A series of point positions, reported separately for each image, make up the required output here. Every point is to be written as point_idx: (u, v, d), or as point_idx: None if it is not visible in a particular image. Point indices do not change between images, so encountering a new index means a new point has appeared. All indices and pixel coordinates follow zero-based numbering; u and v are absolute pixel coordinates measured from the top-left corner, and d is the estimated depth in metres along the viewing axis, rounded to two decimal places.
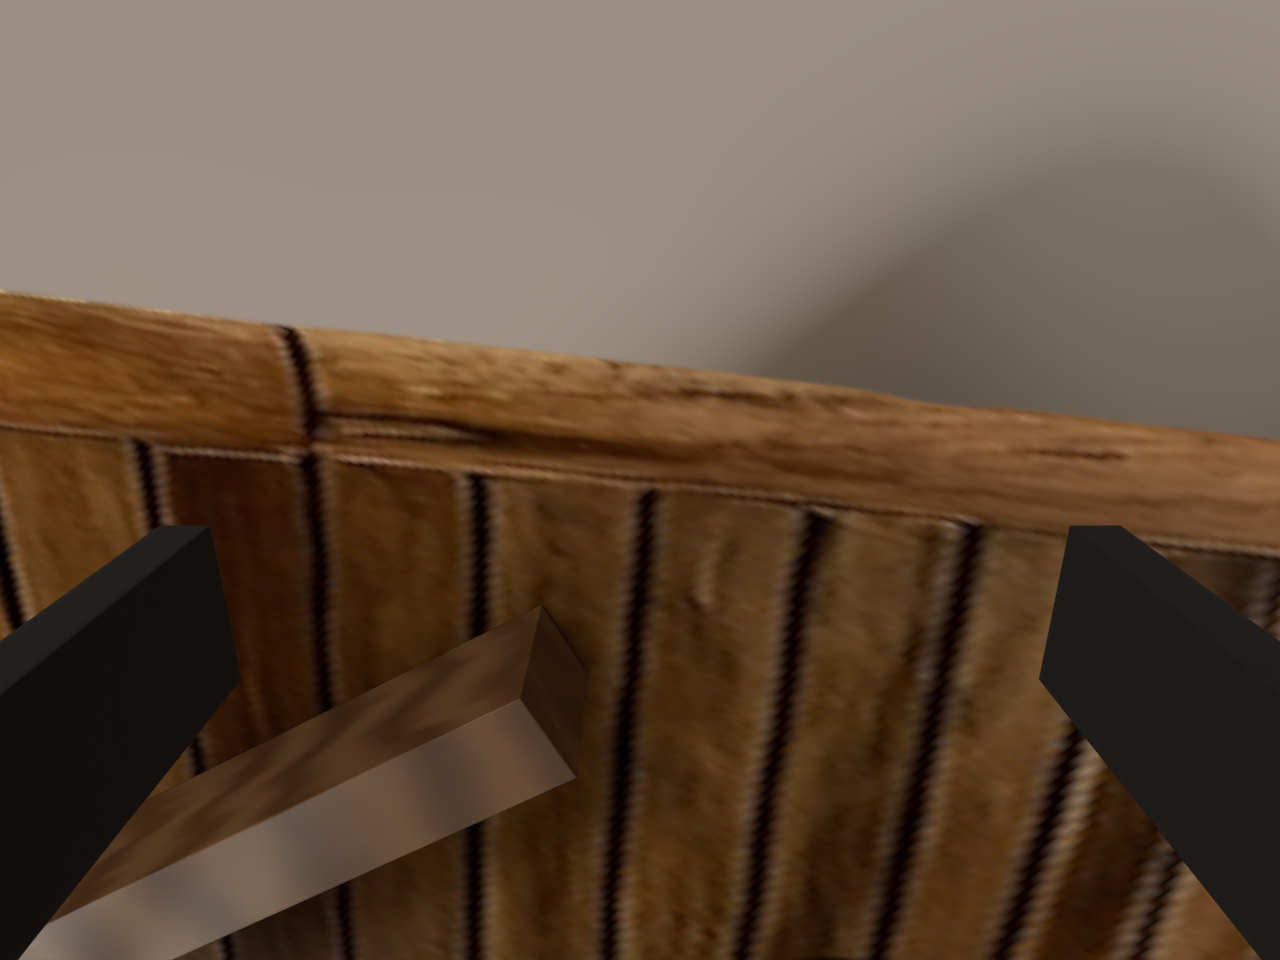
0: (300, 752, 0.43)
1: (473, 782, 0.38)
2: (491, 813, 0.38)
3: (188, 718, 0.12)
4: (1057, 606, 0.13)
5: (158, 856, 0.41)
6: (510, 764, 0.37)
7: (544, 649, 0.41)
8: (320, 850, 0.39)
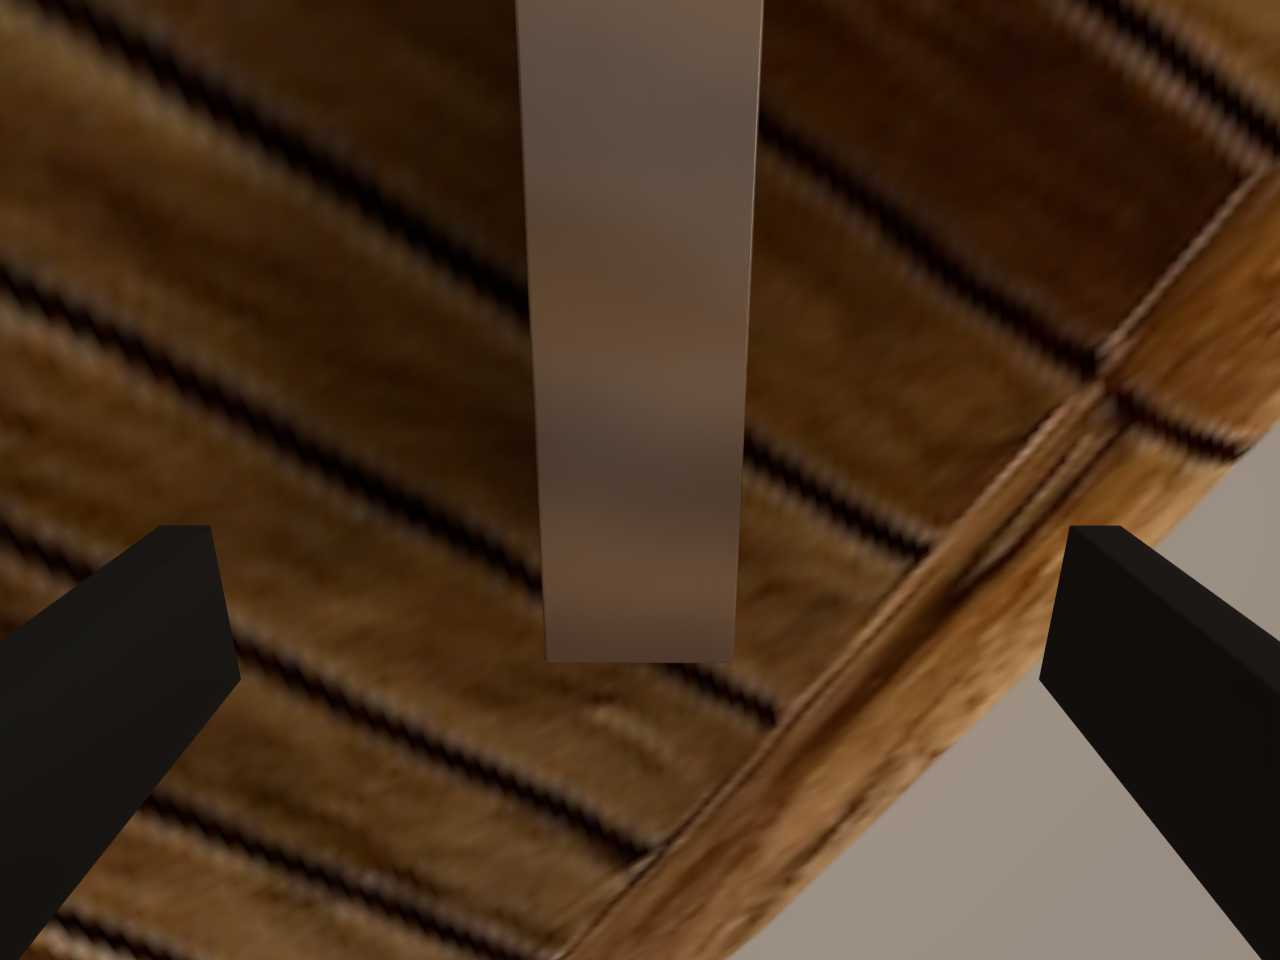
0: None
1: (623, 513, 0.20)
2: (544, 505, 0.20)
3: (188, 717, 0.12)
4: (1057, 606, 0.13)
5: None
6: (625, 587, 0.21)
7: None
8: (626, 134, 0.17)
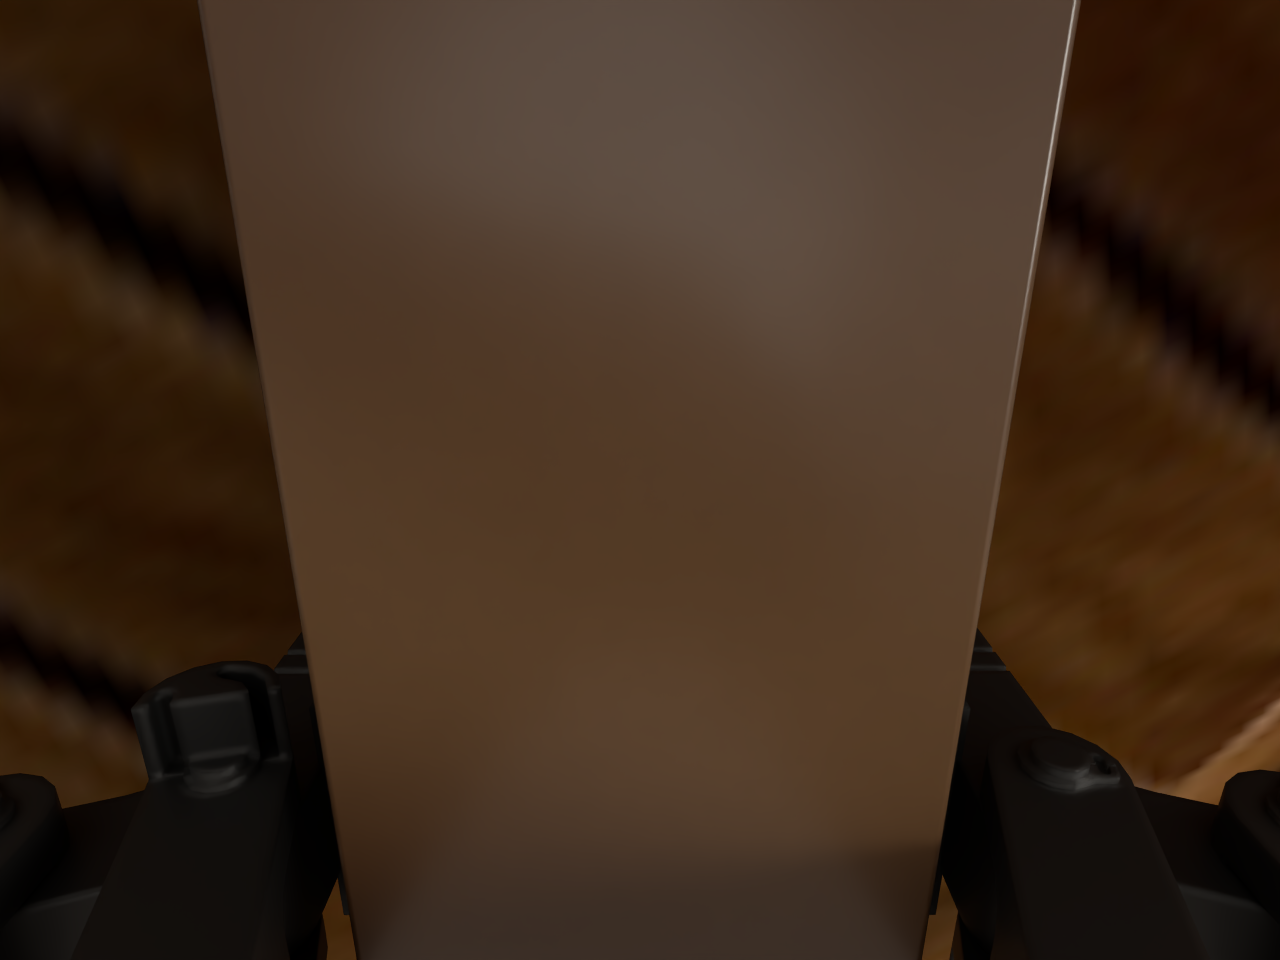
0: None
1: None
2: None
3: None
4: None
5: None
6: None
7: None
8: (590, 18, 0.05)
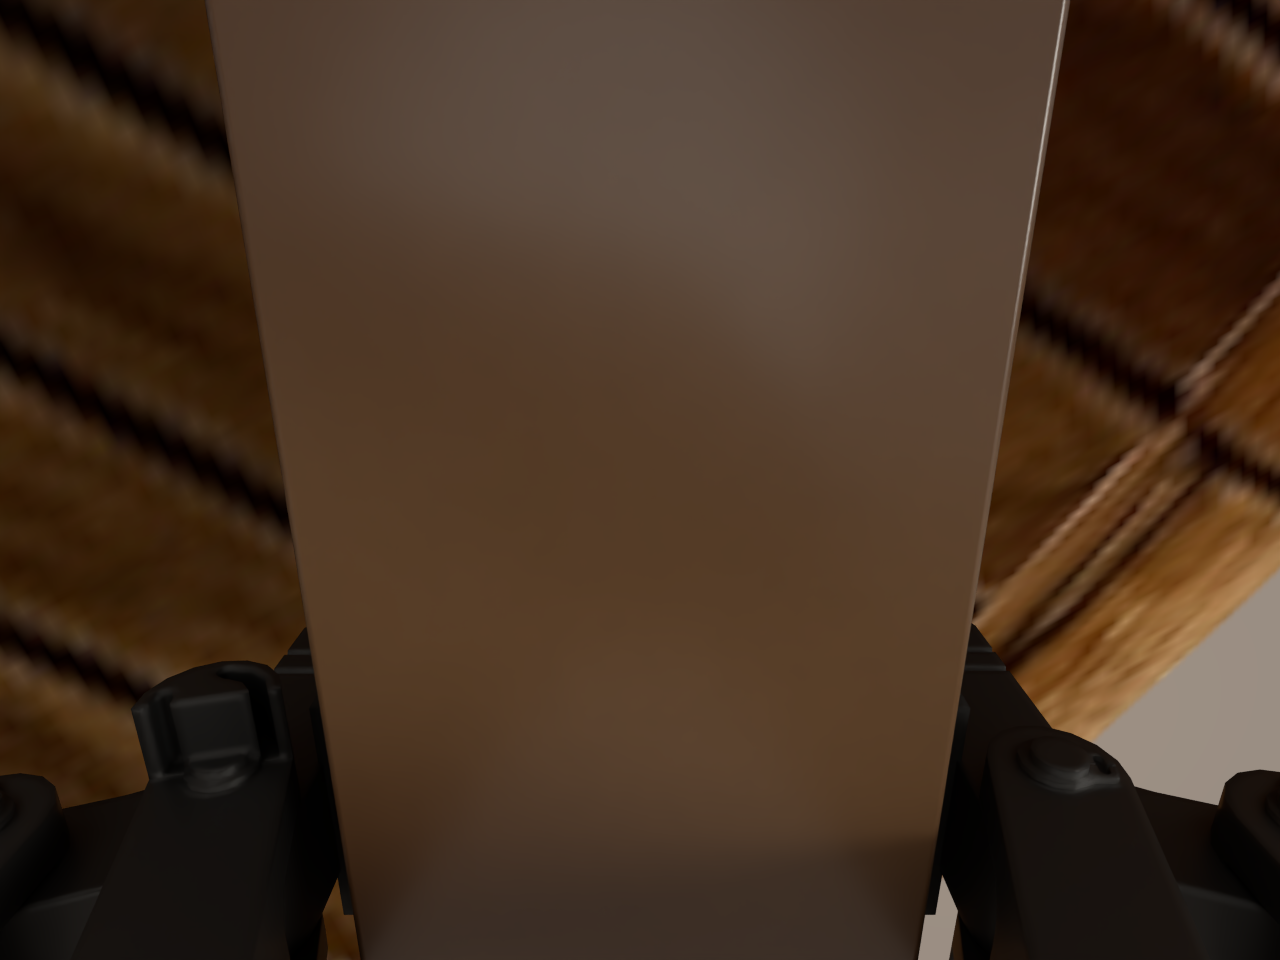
0: None
1: None
2: None
3: None
4: None
5: None
6: None
7: None
8: (589, 18, 0.05)
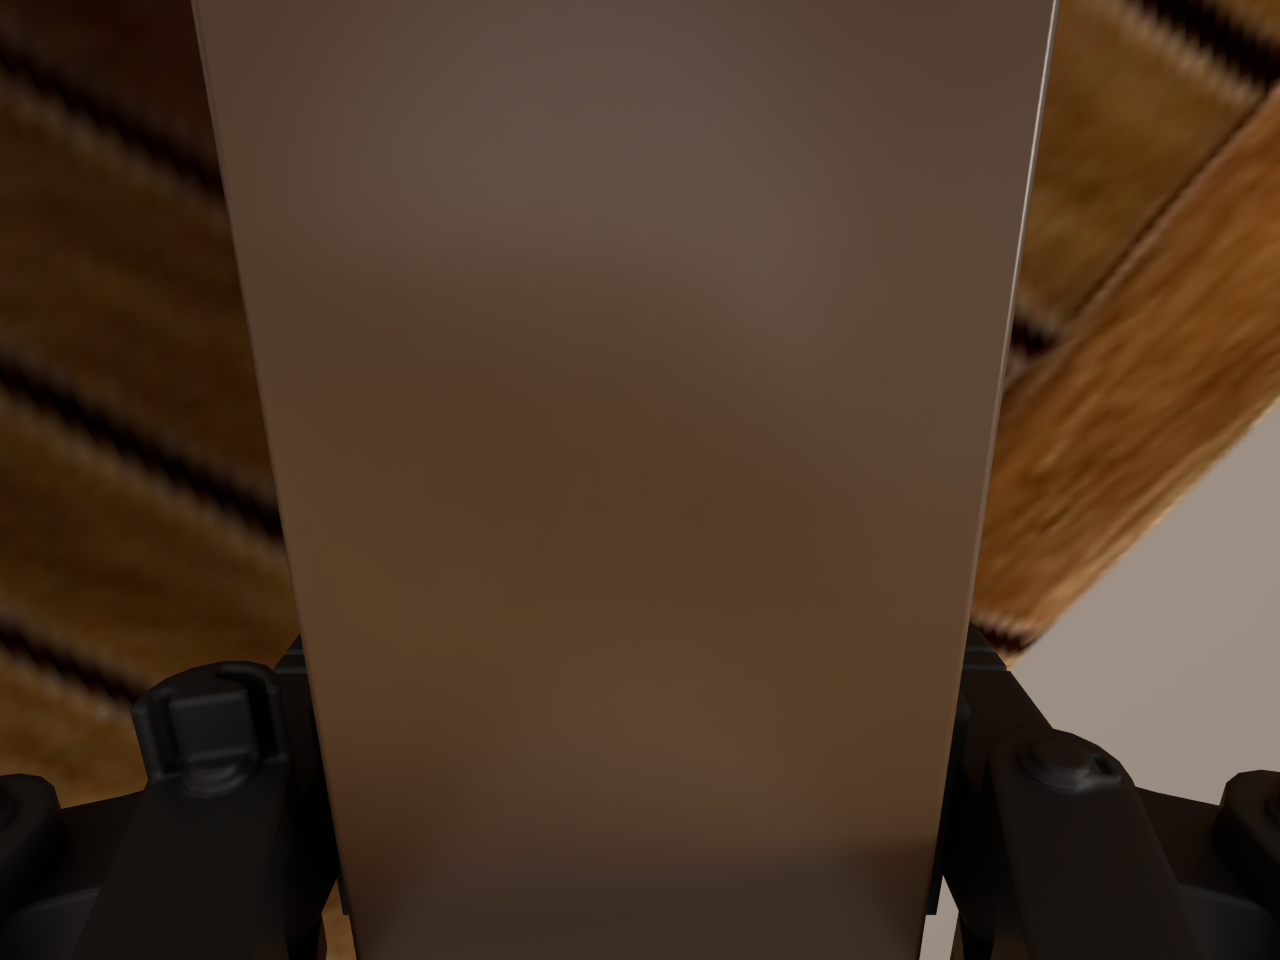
0: None
1: None
2: None
3: None
4: None
5: None
6: None
7: None
8: (578, 15, 0.05)
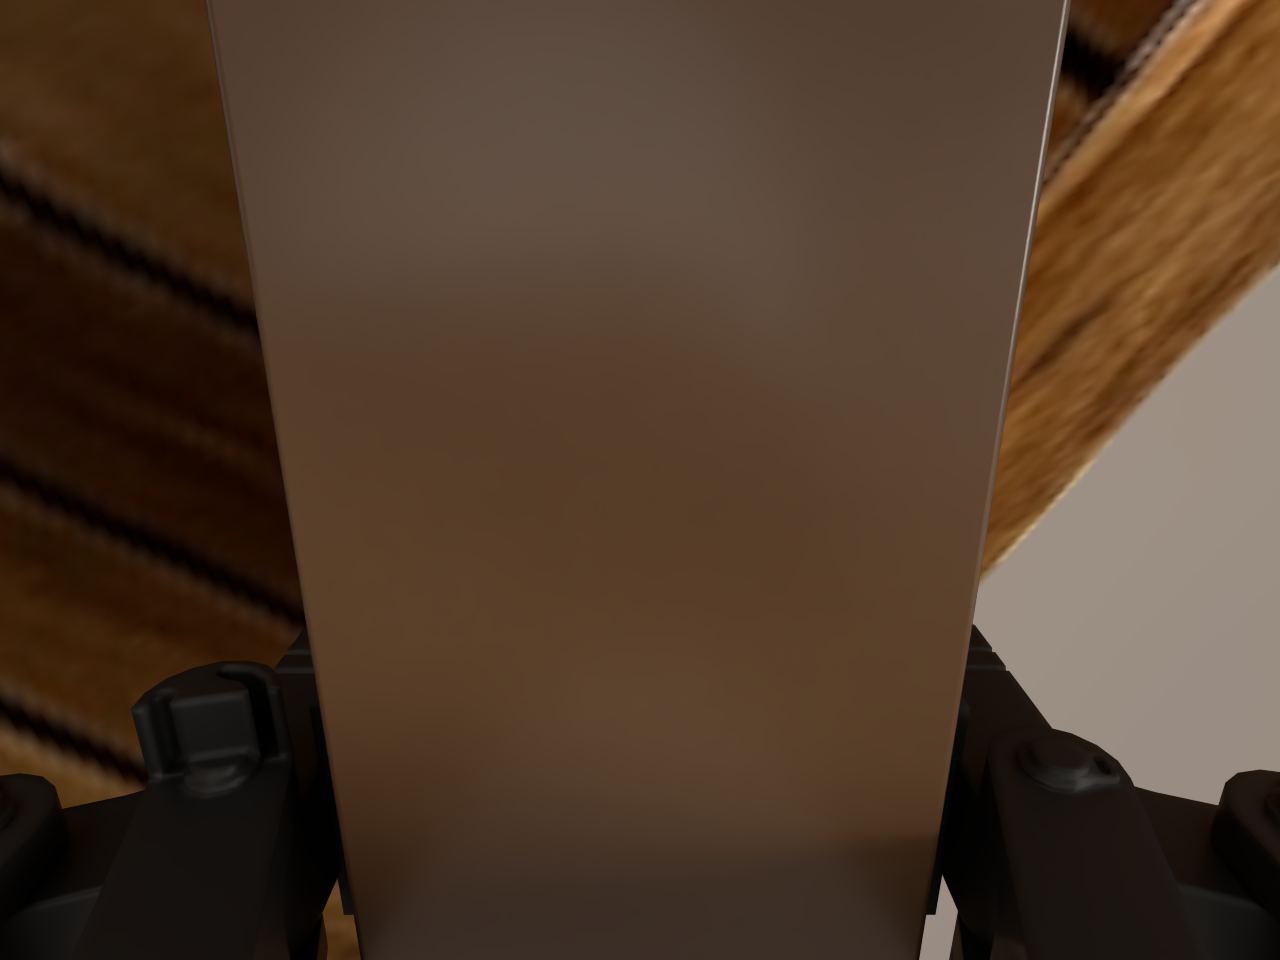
0: None
1: None
2: None
3: None
4: None
5: None
6: None
7: None
8: (591, 23, 0.05)
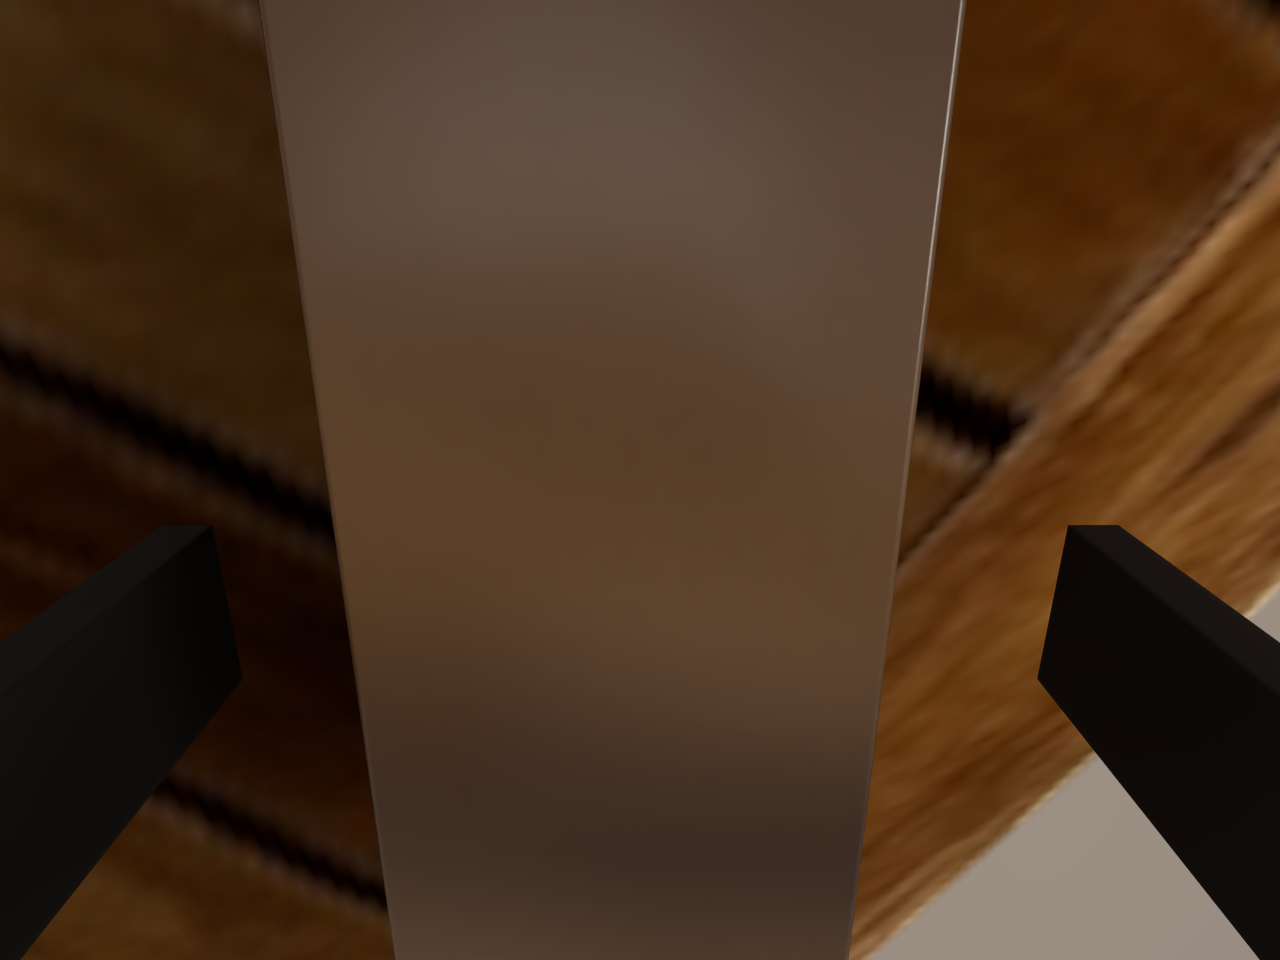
0: None
1: (582, 922, 0.09)
2: (400, 906, 0.09)
3: (189, 716, 0.12)
4: (1054, 605, 0.13)
5: None
6: None
7: None
8: None
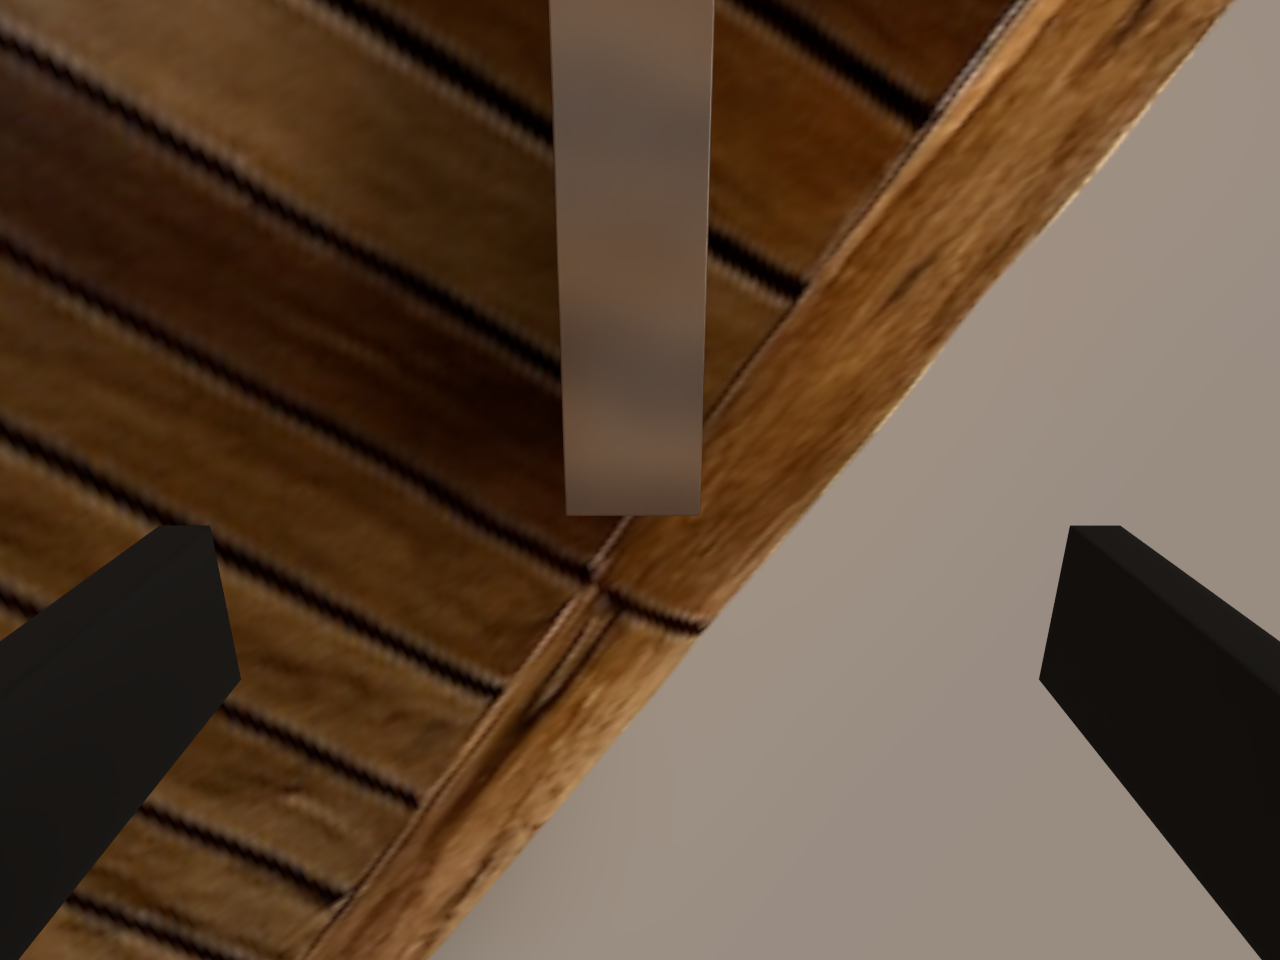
0: None
1: (621, 403, 0.29)
2: (566, 396, 0.29)
3: (188, 717, 0.12)
4: (1057, 606, 0.13)
5: None
6: (622, 458, 0.29)
7: None
8: (623, 138, 0.26)
